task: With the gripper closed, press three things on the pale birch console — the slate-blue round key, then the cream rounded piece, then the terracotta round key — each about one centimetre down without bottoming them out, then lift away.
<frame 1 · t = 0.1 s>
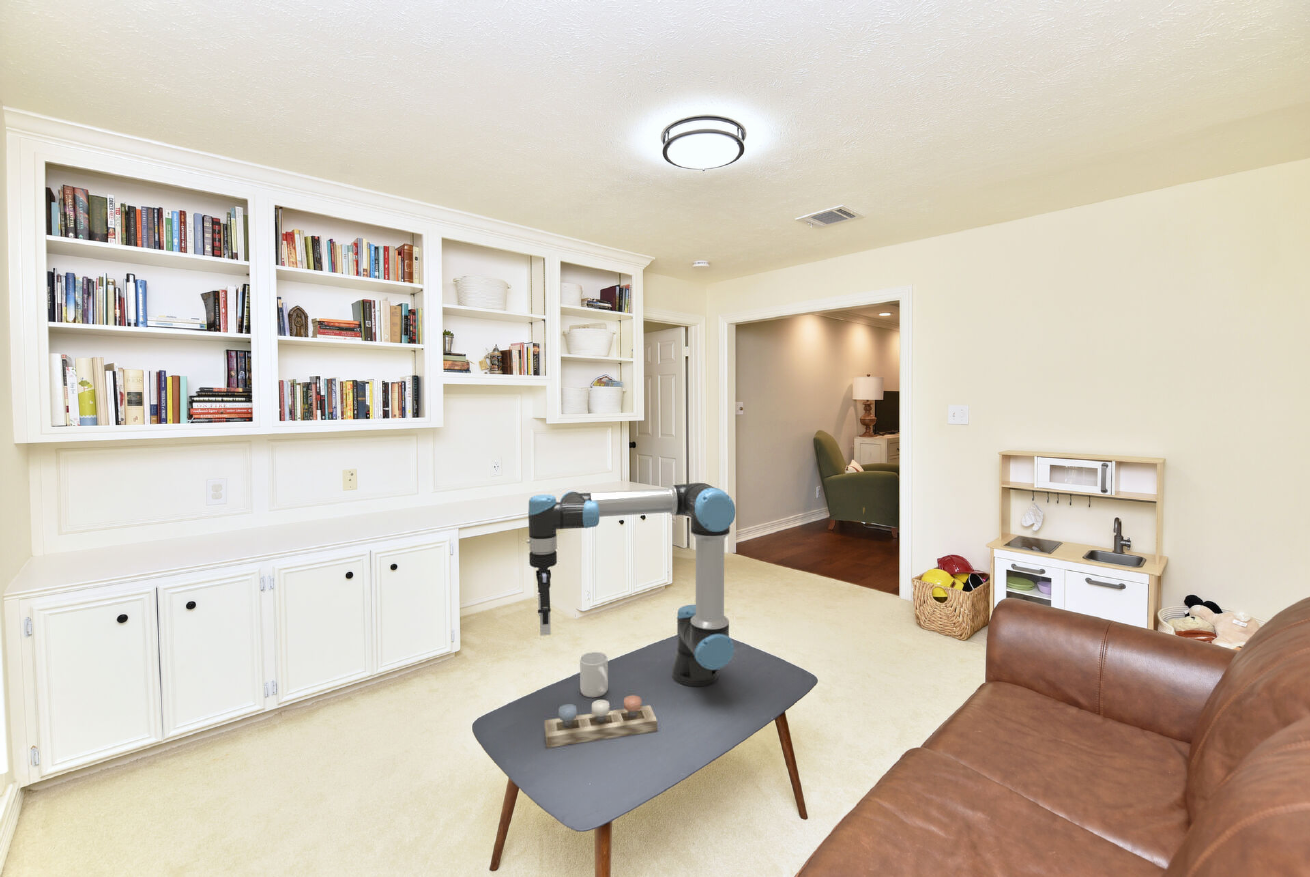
hand: (544, 624, 164), 28 cm above the table, fingers open, 13 cm apart
slate key: (567, 716, 158), point 5 cm above the table, slide at 0.0 cm
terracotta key: (632, 707, 162), point 5 cm above the table, slide at 0.0 cm
cream rounded piece: (600, 712, 160), point 5 cm above the table, slide at 0.0 cm
mug: (596, 694, 180), on the table
console: (600, 730, 161), on the table
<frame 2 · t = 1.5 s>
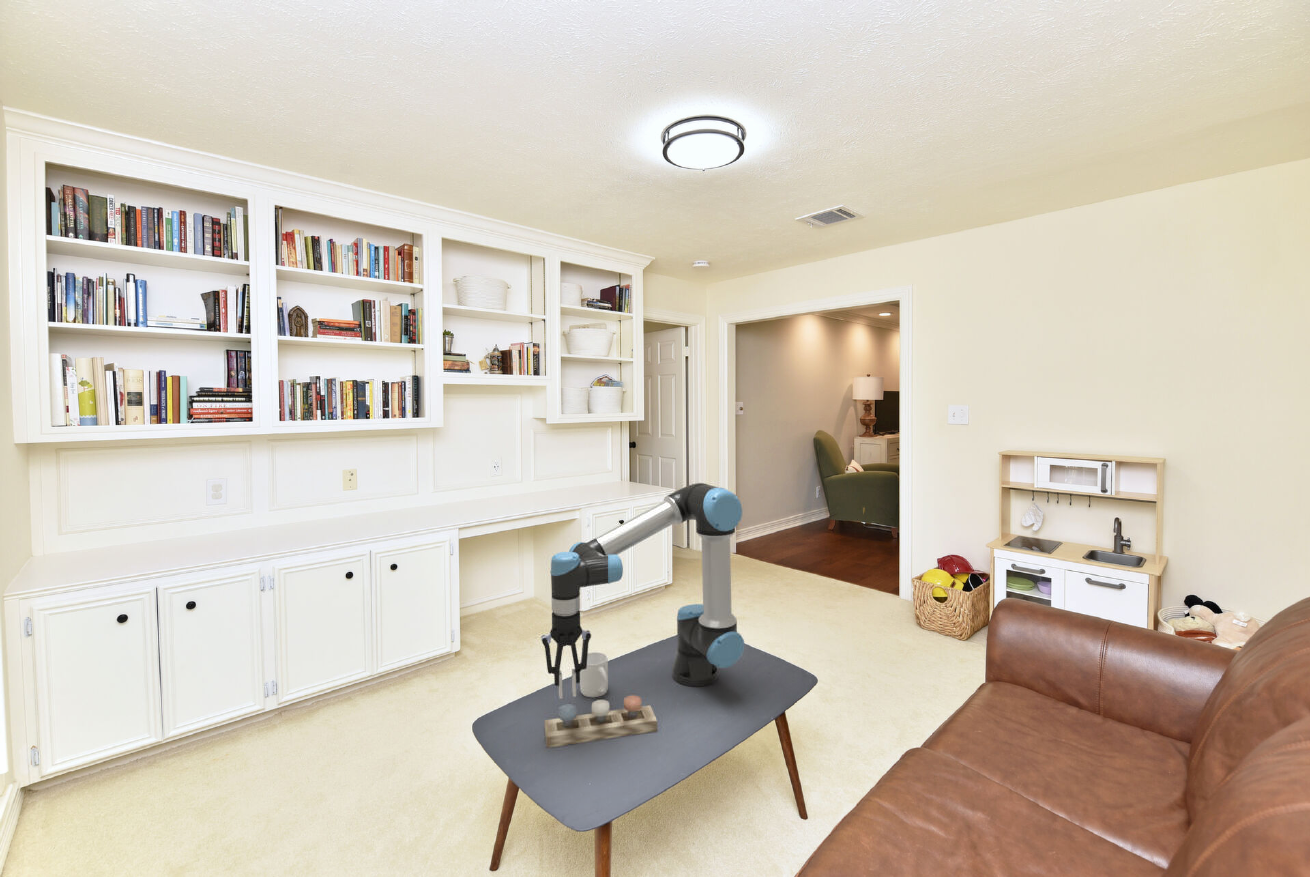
hand: (567, 695, 157), 12 cm above the table, fingers open, 3 cm apart
nothing on the table moved.
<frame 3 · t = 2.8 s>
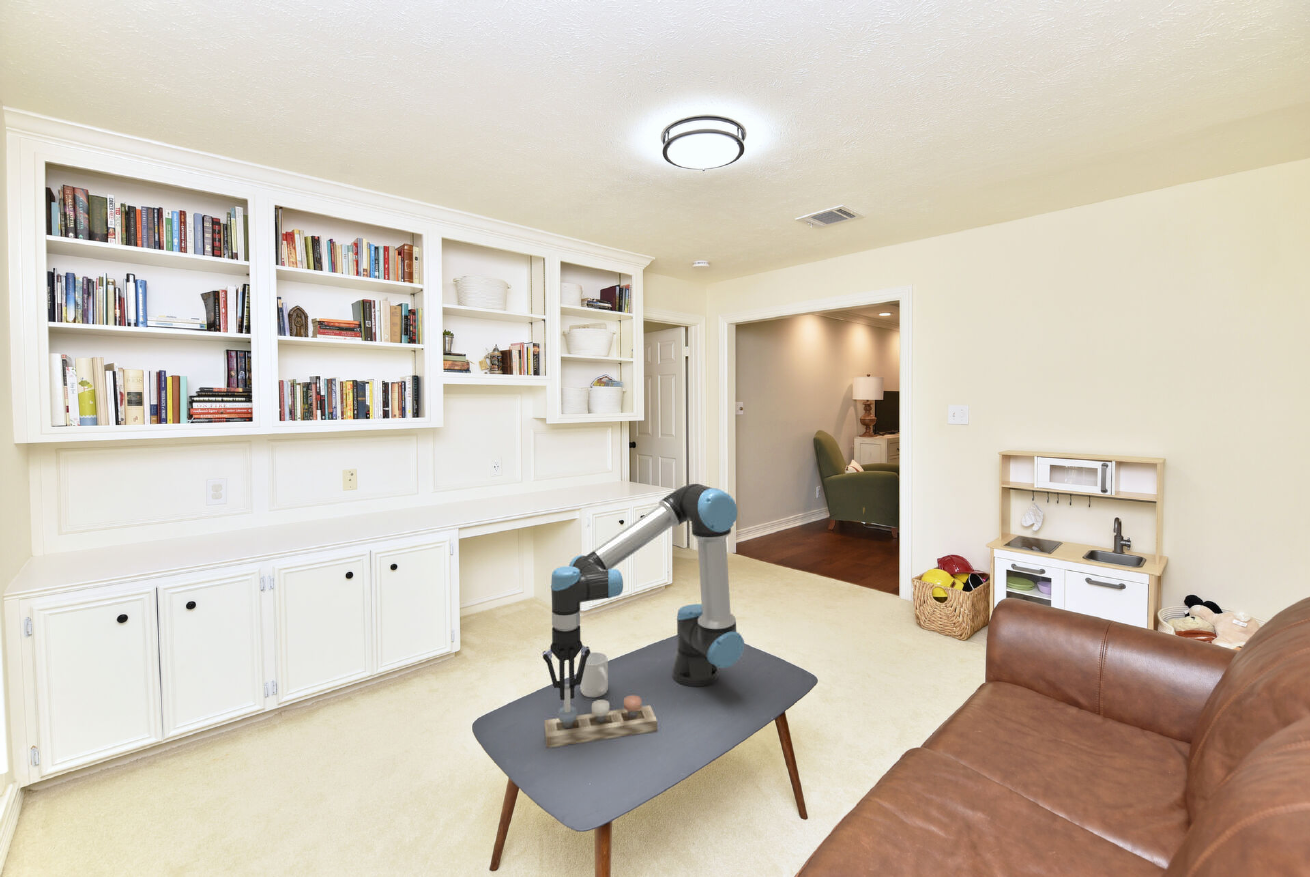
hand: (567, 709, 158), 7 cm above the table, fingers closed
slate key: (567, 718, 158), point 5 cm above the table, slide at 0.5 cm, touching gripper
everything else where it was.
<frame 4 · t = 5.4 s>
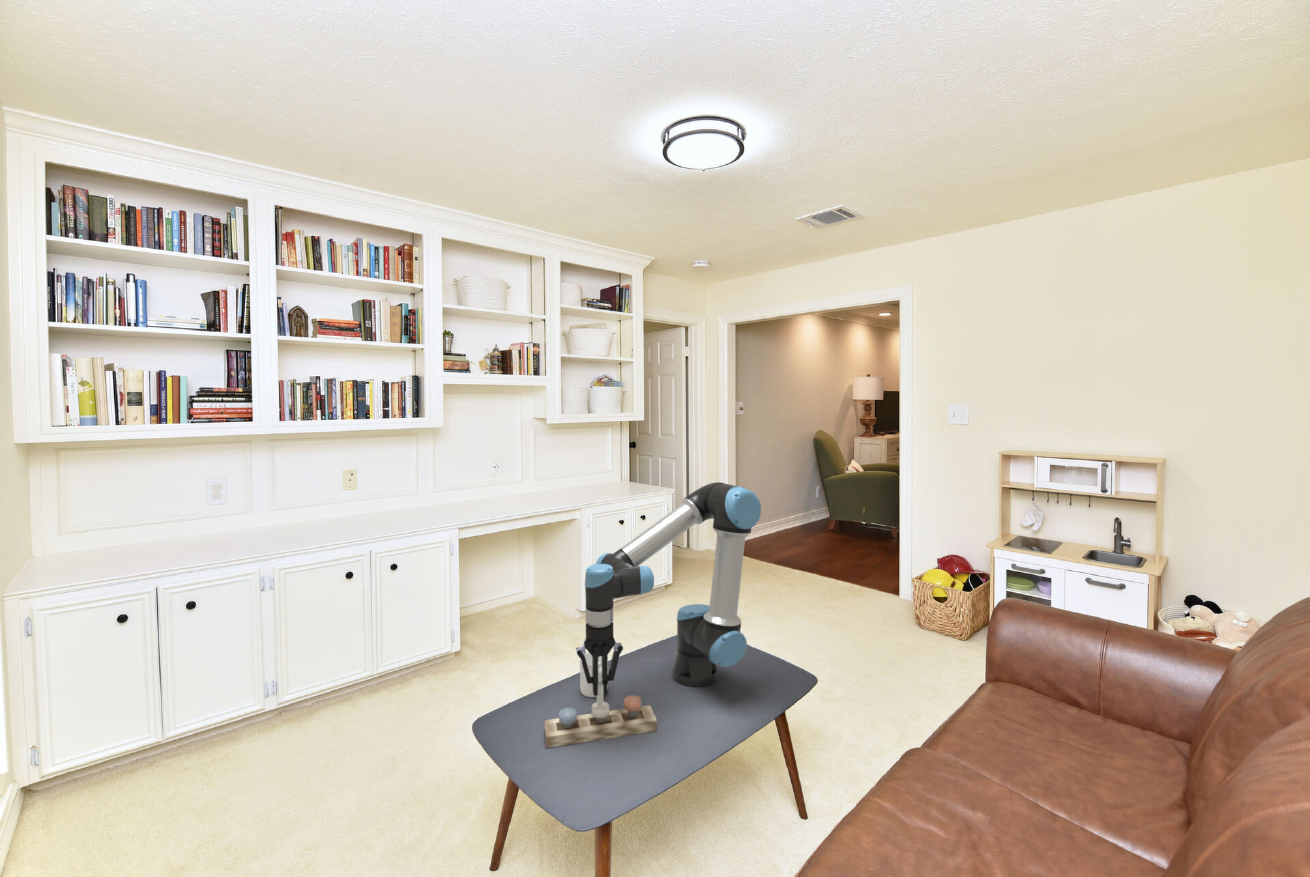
hand: (600, 705, 160), 7 cm above the table, fingers closed
slate key: (567, 720, 158), point 4 cm above the table, slide at 1.0 cm
cream rounded piece: (600, 714, 160), point 5 cm above the table, slide at 0.5 cm, touching gripper
everything else where it was.
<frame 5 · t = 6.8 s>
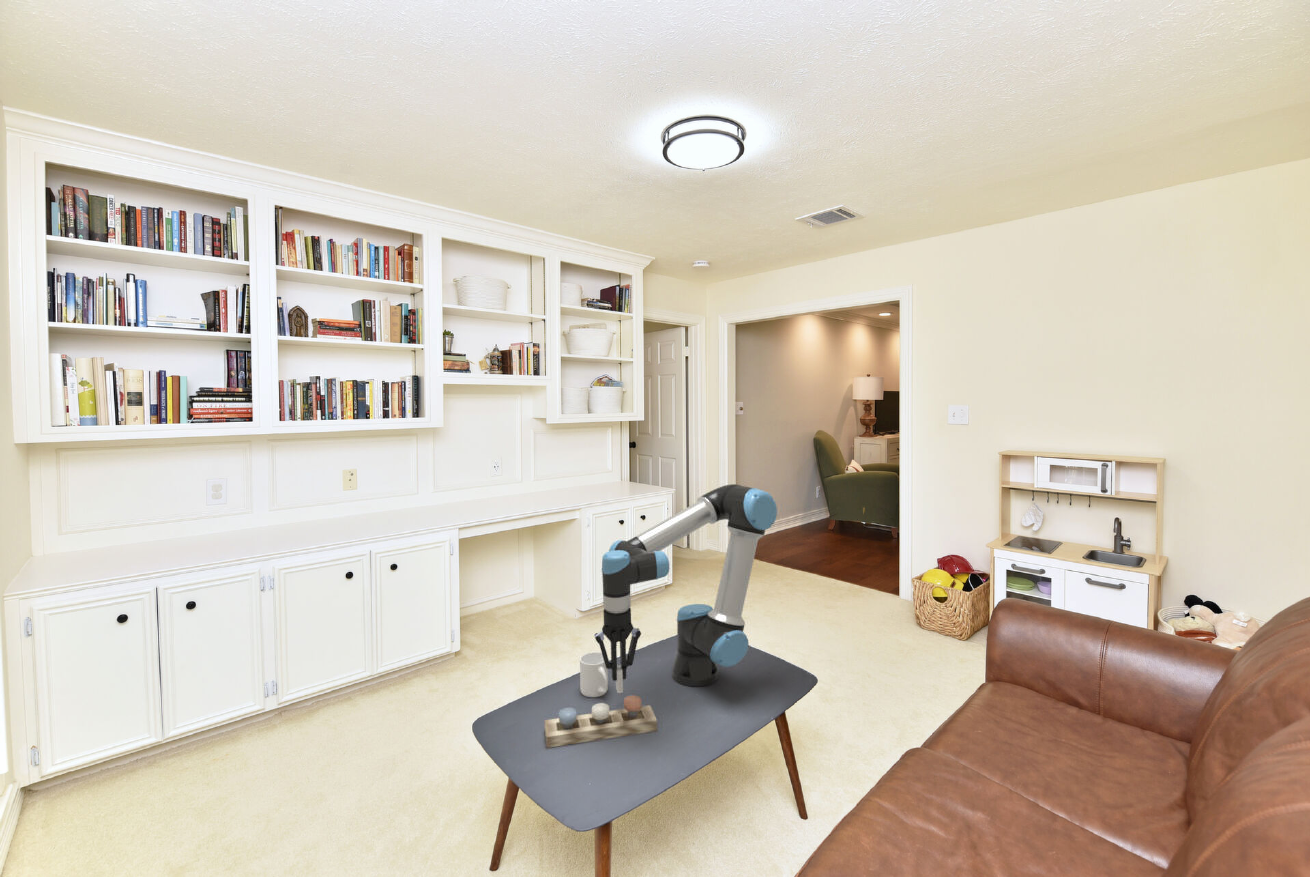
hand: (619, 690, 161), 11 cm above the table, fingers closed
cream rounded piece: (600, 715, 160), point 4 cm above the table, slide at 1.0 cm
everything else where it was.
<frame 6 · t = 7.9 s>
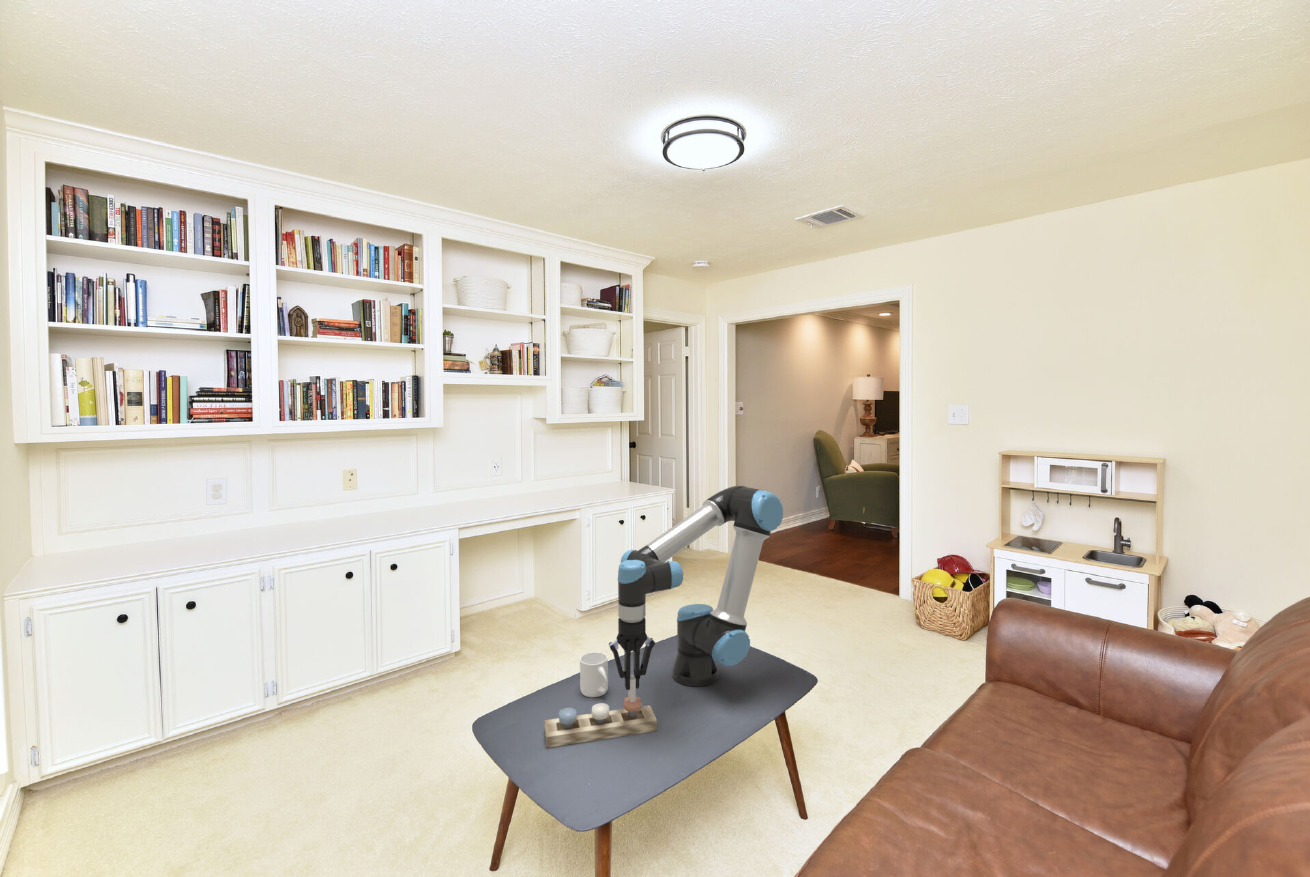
hand: (632, 699, 162), 8 cm above the table, fingers closed
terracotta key: (632, 708, 162), point 5 cm above the table, slide at 0.1 cm, touching gripper
everything else where it was.
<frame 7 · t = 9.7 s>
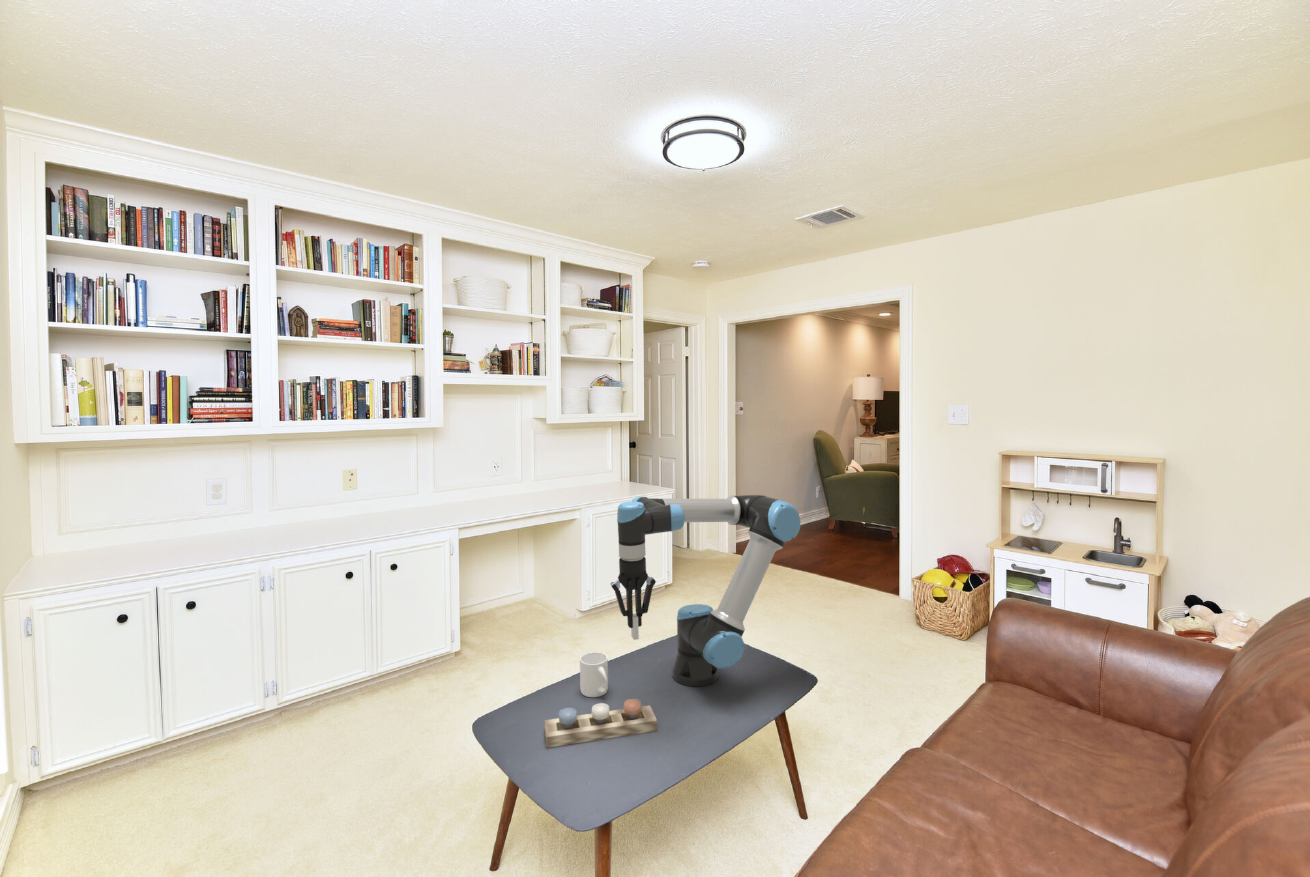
hand: (635, 637, 166), 23 cm above the table, fingers closed
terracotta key: (632, 711, 162), point 4 cm above the table, slide at 1.0 cm
everything else where it was.
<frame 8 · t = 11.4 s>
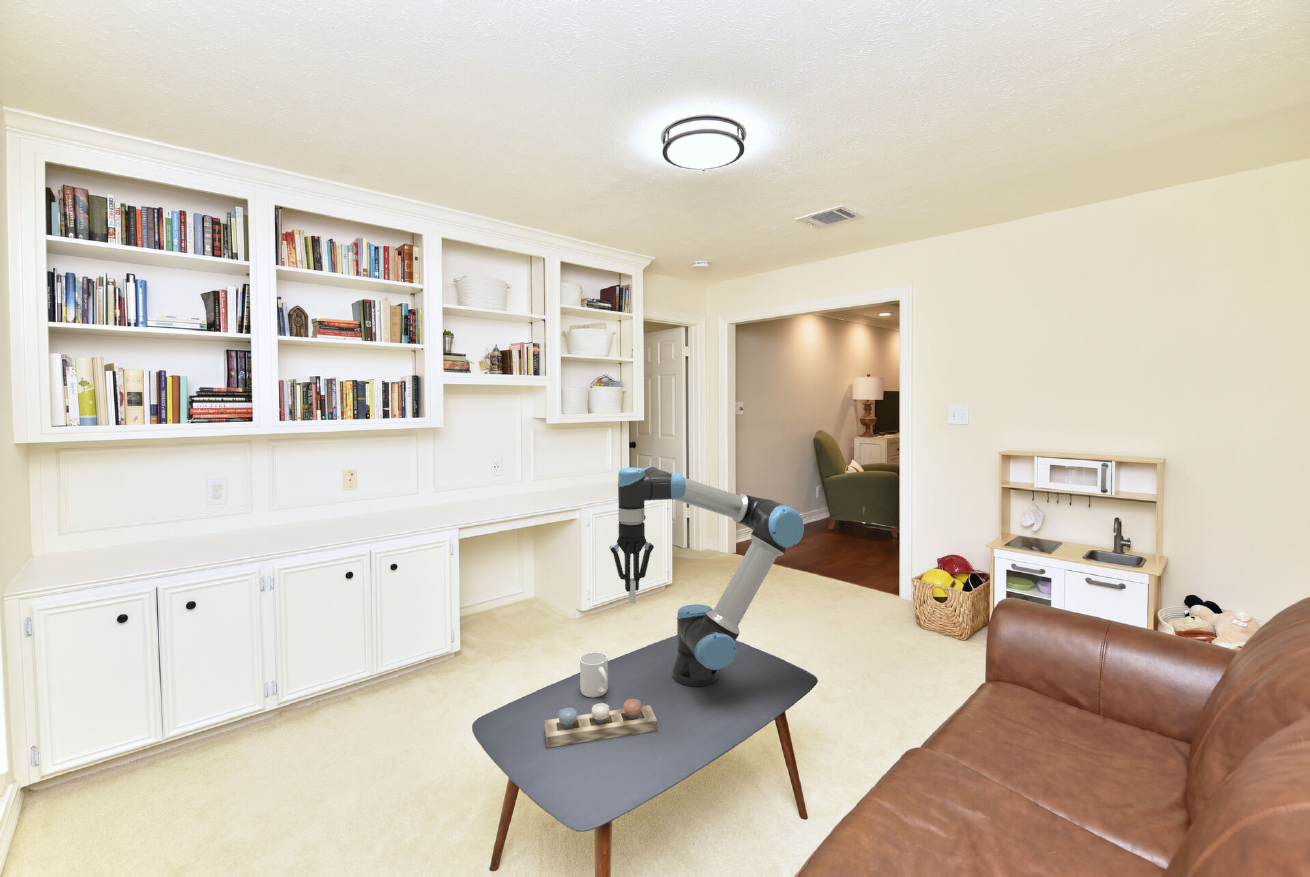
hand: (632, 601, 169), 32 cm above the table, fingers closed
nothing on the table moved.
at the end: slate key slide at 1.0 cm; cream rounded piece slide at 1.0 cm; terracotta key slide at 1.0 cm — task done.
